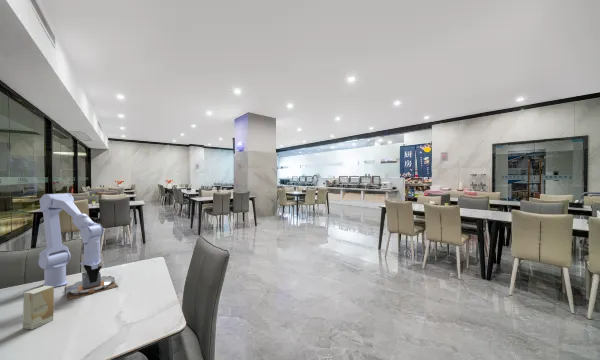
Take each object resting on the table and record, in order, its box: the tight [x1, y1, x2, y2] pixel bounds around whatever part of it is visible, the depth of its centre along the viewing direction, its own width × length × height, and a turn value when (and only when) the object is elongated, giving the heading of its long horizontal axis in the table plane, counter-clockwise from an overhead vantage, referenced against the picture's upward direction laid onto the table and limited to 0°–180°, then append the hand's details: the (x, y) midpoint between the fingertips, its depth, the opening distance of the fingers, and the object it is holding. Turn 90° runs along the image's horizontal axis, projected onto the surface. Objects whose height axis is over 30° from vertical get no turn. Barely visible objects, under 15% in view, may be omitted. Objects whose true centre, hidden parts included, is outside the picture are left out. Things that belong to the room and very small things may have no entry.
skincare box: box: [22, 286, 55, 330], centre depth 84 cm, size 6×4×12 cm
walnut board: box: [64, 275, 119, 301], centre depth 112 cm, size 18×17×1 cm
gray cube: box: [81, 271, 102, 289], centre depth 110 cm, size 4×6×5 cm, turn 138°
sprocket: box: [65, 271, 116, 295], centre depth 112 cm, size 18×18×6 cm
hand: (92, 280), depth 110 cm, fingers closed on gray cube, 4 cm apart
